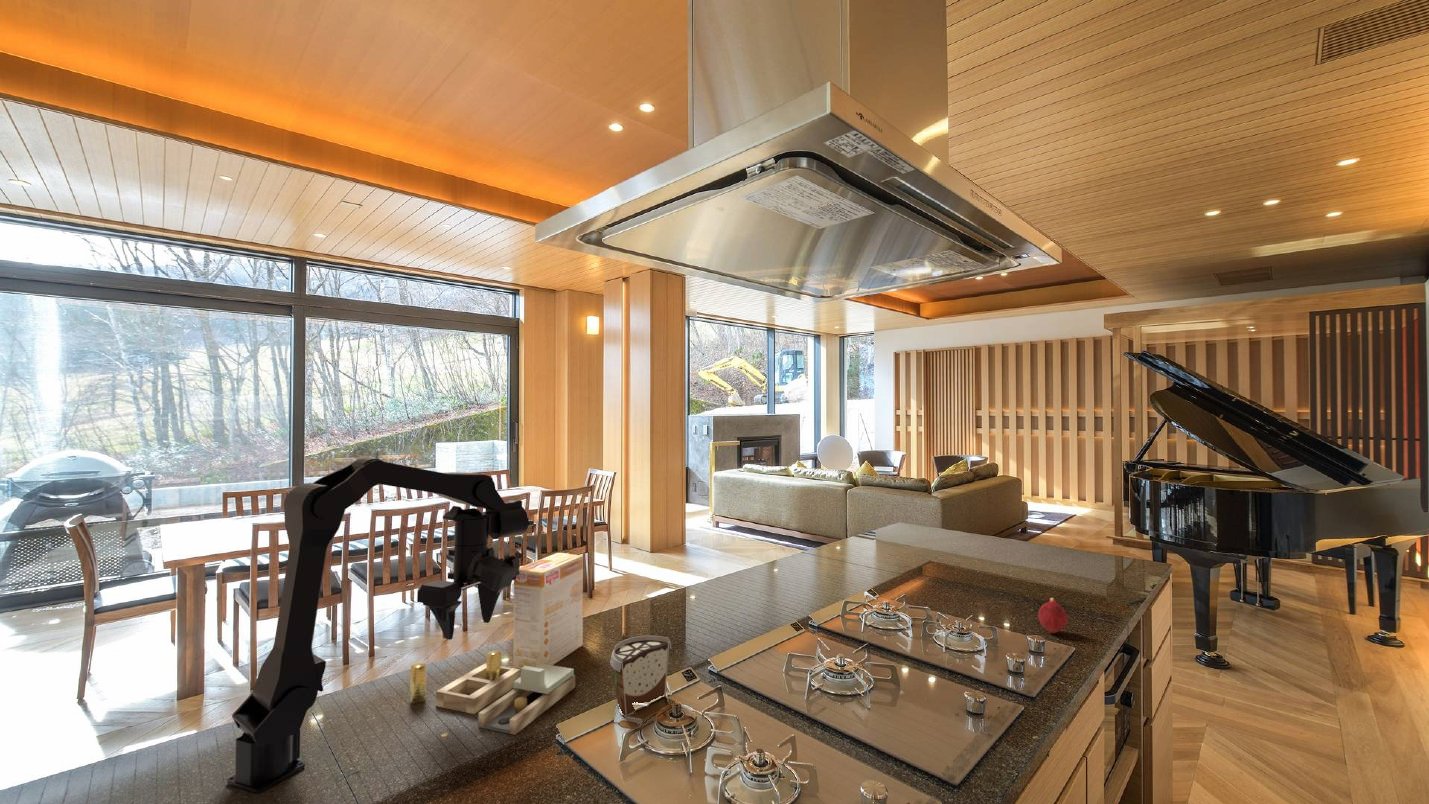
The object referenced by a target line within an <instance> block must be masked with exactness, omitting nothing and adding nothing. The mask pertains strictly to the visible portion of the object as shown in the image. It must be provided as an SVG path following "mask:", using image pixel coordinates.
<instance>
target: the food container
mask: <svg viewBox="0 0 1429 804" xmlns="http://www.w3.org/2000/svg"><path fill="white" fill-rule="evenodd" d="M670 650H672V643H671V640H670V638H669V637H667V636H666V637H665V636H660V635H640V636H632V637H629V638H626V639H624V640H621V641H619V642H618V643H616V644H615V646H614V648H613V650H612V651H611V652H612V653H611V657H610V660H609V661H610V663H609V664H610V666H611V667H612V669H614V677H615V679H614V680H615V688H616V689H615V690H616V702H617V705H618V704H619V707H620V709H621V711H622V713H623V714H624V715H626V716H627V715H630V716H632V715H633V714H635V713H636V712H635V709H634V707H633V705H632V703H634V702H635V703H636V702H638V703H644V702H650V701H651V700H653V699H656V698H658V697H659V696H663V695H664V694H665V693H666V691H667V680H668V679H667V678H668V667H669V666H668V664H669V651H670ZM666 694H667V693H666ZM634 712H635V713H634ZM631 714H632V715H631Z"/></svg>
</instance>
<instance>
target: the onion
mask: <svg viewBox="0 0 1429 804" xmlns="http://www.w3.org/2000/svg"><path fill="white" fill-rule="evenodd" d="M1037 617H1038V621H1039V622H1040V624H1041V626H1042V627H1043V628H1044V629H1045V630H1047V631H1048V632H1049V633H1051V634H1056V633H1058V632H1060V631H1062V630H1063V629H1064V628H1065V627H1066V626H1067V624H1068V616H1067V612H1066V611H1065V609H1064V607H1062V606H1061V605H1060V604H1059V603H1058V602H1056V600H1055V598H1054V597H1051V598H1049V601H1048V602H1046V603H1043V605H1041V606H1040V608H1039V609H1038V612H1037Z"/></svg>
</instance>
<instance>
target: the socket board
mask: <svg viewBox="0 0 1429 804" xmlns="http://www.w3.org/2000/svg"><path fill="white" fill-rule="evenodd" d="M520 677H521V670H520V669H515V668H513V667H507V666H503V665H501V676H500V677H498V678H497V679H495V680H493V681H492V680H487V662H485V663H483V664H481V665H480V666H478V667H476V668H475V669H473V670H470V671H469V672H467V673H466V674H463V675H462V676H460V677H459V678H457V679H455V680H453V681H451V682H450V683H448V684H446V685H445V686H442V687H441V688H440V689H438V690H436V691H435V692H436V693H435V695H436V697H435V698H436V699H435V705H436V706H435V707H438V708H445V709H448V710H452V711H453V710H454V711H458V712H463V713H468V714H470V715H471V714H472V715H475V714H476V713H479V712H480V711H482V710H483V709H485V707H488V706H489V704H490V705H491V704H492V703H494V702H495V701H497V700H498V699H500V698H501V697H503V696H504V695H506V694H507V693H509V692H510V691H511V690H513V689H514V688H513V682H514V681H515V680H517V679H518V678H520Z"/></svg>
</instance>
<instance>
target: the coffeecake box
mask: <svg viewBox="0 0 1429 804" xmlns="http://www.w3.org/2000/svg"><path fill="white" fill-rule="evenodd" d="M583 563H584V555H582V554H571V553H566V552H556V553H553V554H551V555H548V556H546V557H544V558H541V559H538V560H535V561H533V562H530V563H528V564H525V565H523V566H520V568H519V575H517V576H516V579H515V580H513V640H512V641H513V644H512V645H513V651H512V653H513V655H512V657H513V662H512V663H513V666H512V668H515V669H520V671H521V668H522V667H524V666H529V667H537V666H538V665H540V664H541V663H542V664H548V665H554V666H555V664H557V663H558V662H560V661H561V660H562V659H564V658H566V657H567V656H569V655H570V654H572V653H573V652H574V651H576V650H577V649H579V648H580V647H582V646H584V643H583V641H584V639H583V637H584V636H583V634H584V633H583V629H584V628H583V626H584V625H583V624H584V620H583V618H584V617H583V614H584V611H583V607H584V606H583V605H584V604H583V603H584V596H583V594H584V593H583V592H584V590H583V589H584V581H583V580H584V564H583Z"/></svg>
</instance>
